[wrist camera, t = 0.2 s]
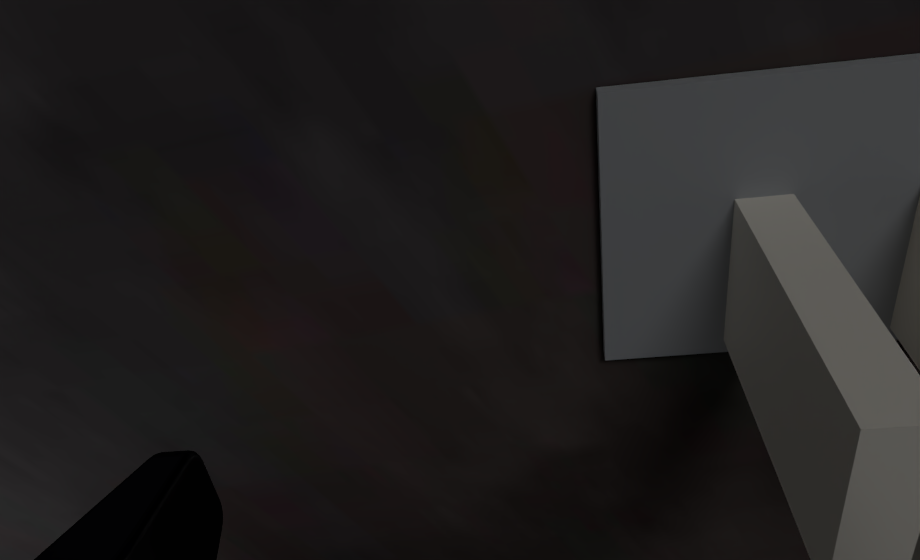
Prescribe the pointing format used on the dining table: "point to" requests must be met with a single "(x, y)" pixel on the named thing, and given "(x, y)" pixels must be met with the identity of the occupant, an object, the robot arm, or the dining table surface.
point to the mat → (748, 187)
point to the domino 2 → (909, 297)
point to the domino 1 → (823, 386)
